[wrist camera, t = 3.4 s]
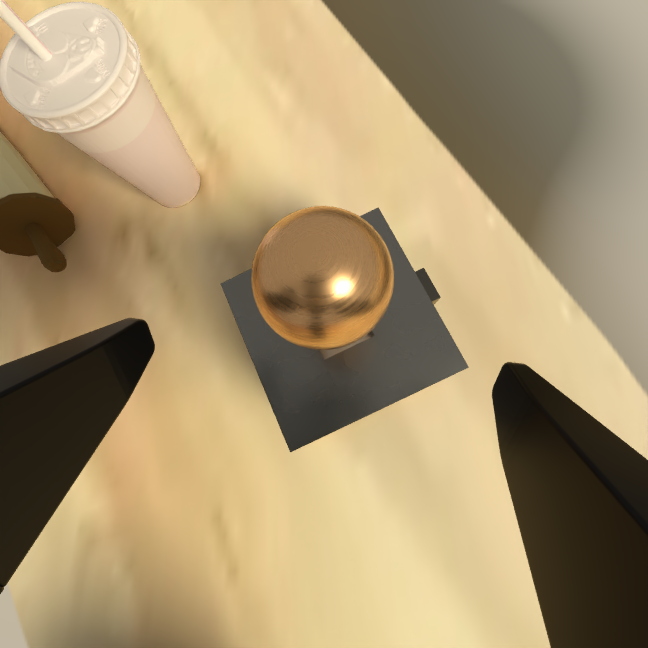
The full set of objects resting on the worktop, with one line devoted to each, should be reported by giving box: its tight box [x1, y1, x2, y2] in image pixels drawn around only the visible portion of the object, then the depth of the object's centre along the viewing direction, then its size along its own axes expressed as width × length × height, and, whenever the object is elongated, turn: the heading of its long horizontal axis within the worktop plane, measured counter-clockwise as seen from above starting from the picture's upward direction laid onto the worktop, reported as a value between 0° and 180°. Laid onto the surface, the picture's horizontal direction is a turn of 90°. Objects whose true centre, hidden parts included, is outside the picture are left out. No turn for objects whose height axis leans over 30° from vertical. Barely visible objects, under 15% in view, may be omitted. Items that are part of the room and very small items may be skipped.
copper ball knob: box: [251, 206, 394, 360], centre depth 11 cm, size 6×6×9 cm
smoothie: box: [0, 0, 200, 208], centre depth 17 cm, size 6×6×14 cm
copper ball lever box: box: [221, 208, 468, 452], centre depth 17 cm, size 9×9×7 cm
